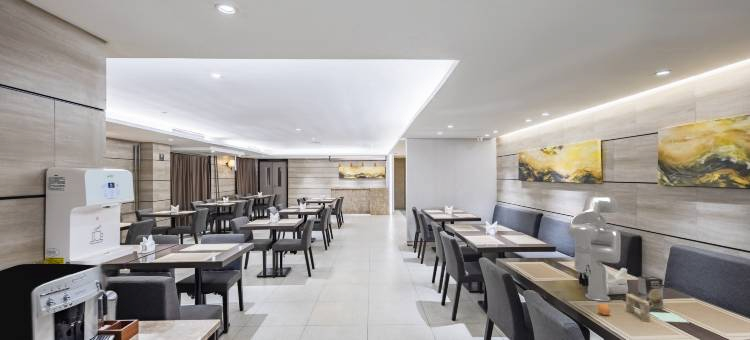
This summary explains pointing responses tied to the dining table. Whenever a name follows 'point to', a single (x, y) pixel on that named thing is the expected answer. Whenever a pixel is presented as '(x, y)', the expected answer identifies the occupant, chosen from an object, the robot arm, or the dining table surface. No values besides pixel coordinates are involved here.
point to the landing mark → (668, 317)
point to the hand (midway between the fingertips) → (583, 284)
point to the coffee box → (651, 291)
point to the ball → (604, 309)
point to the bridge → (643, 306)
